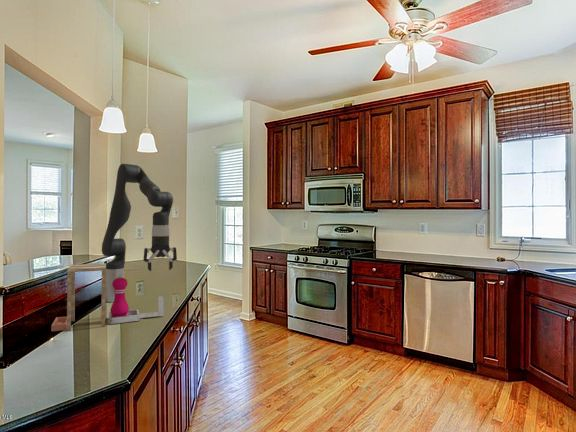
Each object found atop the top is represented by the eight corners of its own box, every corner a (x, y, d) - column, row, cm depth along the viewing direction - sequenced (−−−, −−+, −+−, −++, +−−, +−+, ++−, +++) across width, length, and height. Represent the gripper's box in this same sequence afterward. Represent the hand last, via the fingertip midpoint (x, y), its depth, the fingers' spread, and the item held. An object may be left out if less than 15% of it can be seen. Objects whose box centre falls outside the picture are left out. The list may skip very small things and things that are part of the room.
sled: (109, 317, 159) (109, 299, 159) (161, 311, 168) (161, 294, 168) (108, 324, 149) (109, 304, 149) (164, 317, 159) (164, 299, 159)
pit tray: (56, 323, 151) (56, 317, 151) (69, 321, 153) (69, 316, 153) (51, 331, 140) (51, 325, 140) (66, 329, 142) (66, 323, 142)
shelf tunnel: (71, 320, 154) (71, 264, 155) (105, 317, 160) (106, 263, 160) (67, 330, 141) (67, 269, 141) (104, 326, 146) (105, 267, 147)
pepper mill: (132, 318, 158) (132, 273, 158) (119, 323, 151) (119, 276, 151) (119, 317, 160) (120, 272, 160) (106, 321, 154) (106, 274, 154)
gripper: (175, 234, 170) (175, 268, 171) (143, 234, 164) (142, 270, 164) (177, 235, 164) (177, 270, 164) (144, 235, 158) (144, 272, 158)
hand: (160, 270), depth 164 cm, fingers open, 8 cm apart
